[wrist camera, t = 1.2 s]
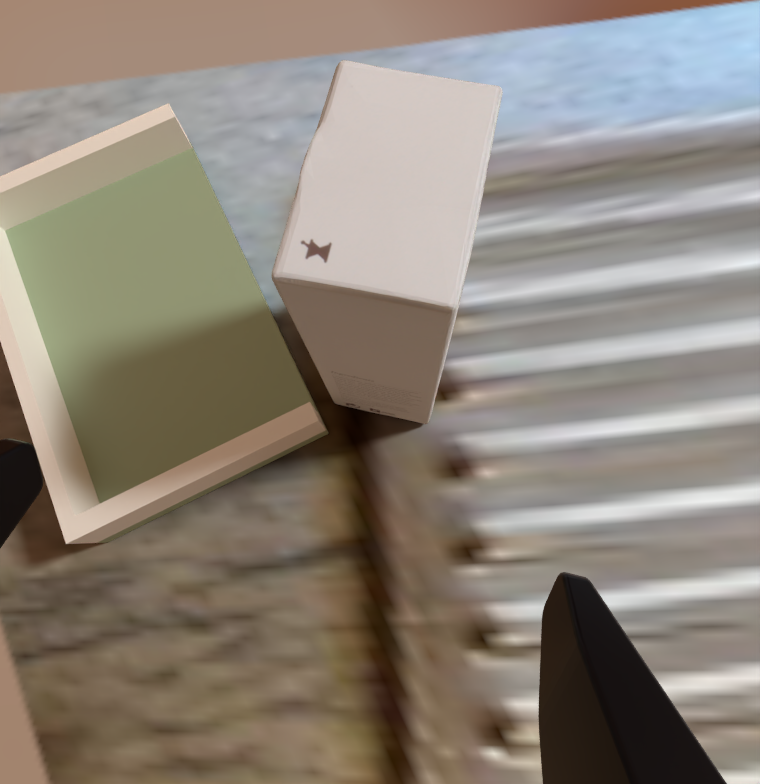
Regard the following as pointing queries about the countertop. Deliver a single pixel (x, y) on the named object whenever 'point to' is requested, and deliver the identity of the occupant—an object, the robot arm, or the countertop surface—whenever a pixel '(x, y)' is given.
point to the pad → (138, 331)
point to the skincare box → (386, 232)
